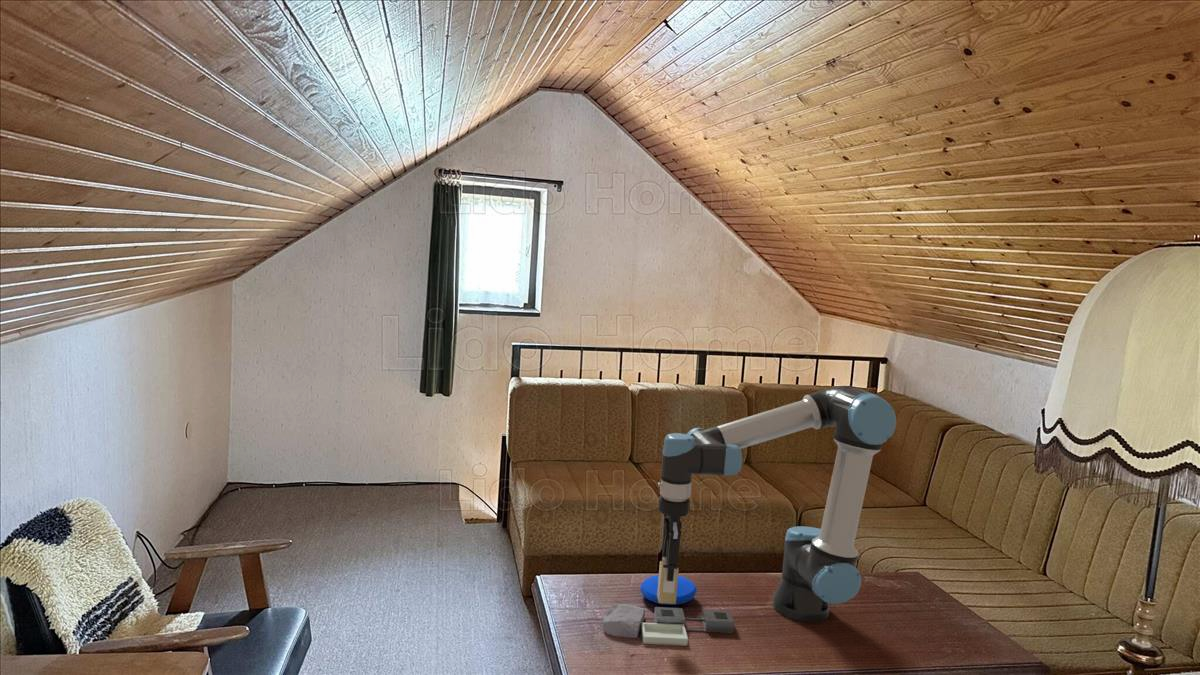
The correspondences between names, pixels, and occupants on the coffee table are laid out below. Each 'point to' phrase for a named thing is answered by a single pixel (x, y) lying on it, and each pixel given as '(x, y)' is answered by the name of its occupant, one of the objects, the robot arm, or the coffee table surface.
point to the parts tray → (664, 634)
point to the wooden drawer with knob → (662, 596)
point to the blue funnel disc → (684, 589)
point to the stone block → (623, 620)
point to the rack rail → (710, 619)
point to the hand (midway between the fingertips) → (667, 587)
